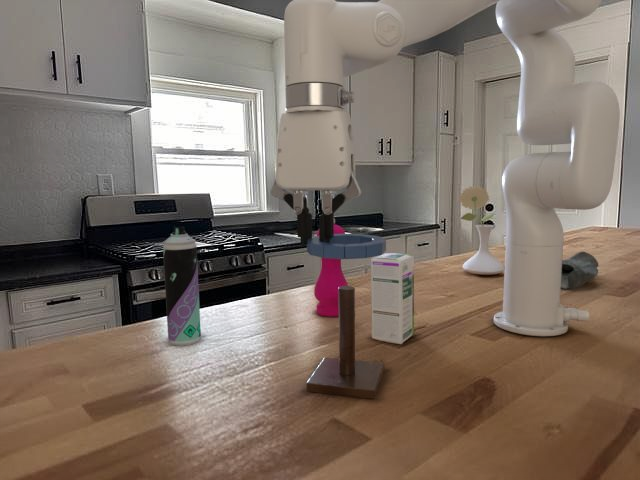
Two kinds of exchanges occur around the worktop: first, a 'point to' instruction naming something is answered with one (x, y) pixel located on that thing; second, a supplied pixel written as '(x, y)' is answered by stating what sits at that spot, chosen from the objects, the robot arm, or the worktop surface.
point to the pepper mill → (329, 283)
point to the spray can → (181, 288)
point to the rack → (346, 360)
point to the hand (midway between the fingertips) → (315, 242)
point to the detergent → (578, 270)
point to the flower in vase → (480, 234)
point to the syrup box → (392, 297)
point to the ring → (347, 246)
